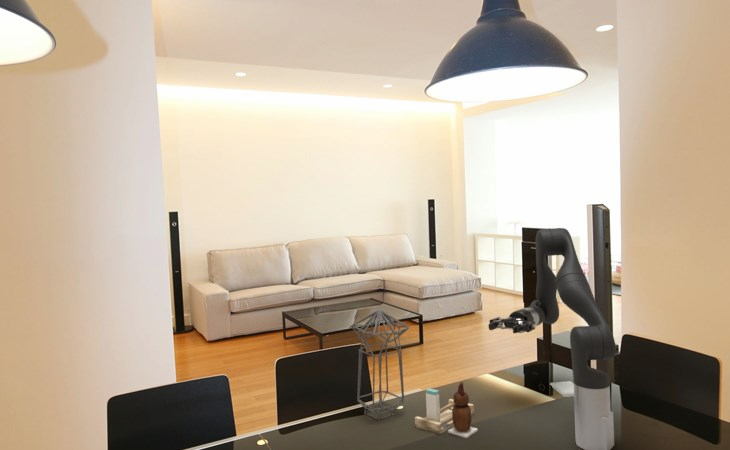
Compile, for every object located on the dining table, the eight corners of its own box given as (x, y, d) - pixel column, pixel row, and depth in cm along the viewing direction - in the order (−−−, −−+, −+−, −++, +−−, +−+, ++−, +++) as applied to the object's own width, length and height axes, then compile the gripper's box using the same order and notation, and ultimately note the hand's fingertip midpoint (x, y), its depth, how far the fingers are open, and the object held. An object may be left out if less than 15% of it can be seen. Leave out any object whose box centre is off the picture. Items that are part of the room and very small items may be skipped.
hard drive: (549, 382, 193) (564, 393, 181) (571, 381, 194) (586, 392, 181) (549, 386, 193) (564, 398, 181) (571, 385, 194) (587, 397, 181)
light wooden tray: (474, 413, 170) (473, 404, 170) (439, 434, 155) (438, 424, 155) (450, 407, 176) (450, 398, 176) (415, 427, 161) (414, 417, 161)
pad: (477, 430, 156) (477, 428, 156) (466, 438, 152) (466, 436, 152) (459, 425, 161) (459, 423, 161) (448, 432, 156) (447, 430, 156)
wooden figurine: (472, 434, 153) (470, 384, 152) (452, 433, 154) (450, 383, 154) (472, 425, 159) (470, 376, 159) (453, 424, 161) (451, 376, 160)
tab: (440, 422, 160) (438, 390, 160) (436, 424, 159) (435, 392, 158) (430, 419, 163) (429, 388, 162) (427, 421, 161) (425, 390, 161)
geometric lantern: (384, 401, 184) (382, 304, 183) (413, 415, 171) (412, 311, 170) (348, 412, 175) (346, 310, 174) (376, 428, 162) (374, 317, 161)
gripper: (504, 307, 185) (481, 315, 173) (543, 310, 175) (521, 319, 163) (505, 328, 185) (482, 337, 173) (544, 332, 175) (522, 343, 163)
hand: (501, 328), depth 168 cm, fingers open, 8 cm apart
